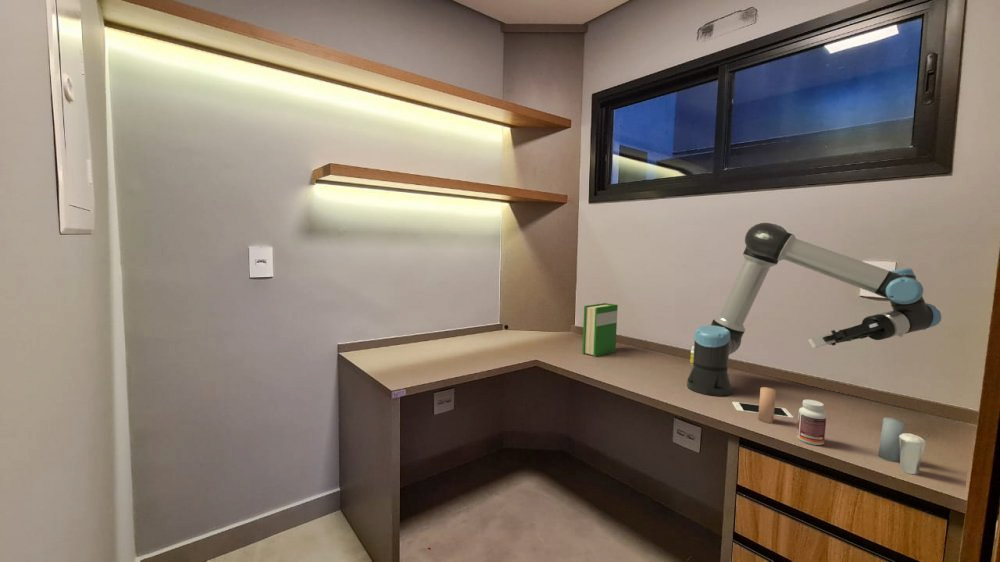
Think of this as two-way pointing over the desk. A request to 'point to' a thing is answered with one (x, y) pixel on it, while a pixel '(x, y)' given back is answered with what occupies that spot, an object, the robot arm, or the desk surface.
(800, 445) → the desk surface
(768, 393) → the terracotta post
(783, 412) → the cell phone
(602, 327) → the hardback book
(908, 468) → the milkshake
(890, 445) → the slate post
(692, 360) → the supplement bottle
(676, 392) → the desk surface
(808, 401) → the pill bottle
